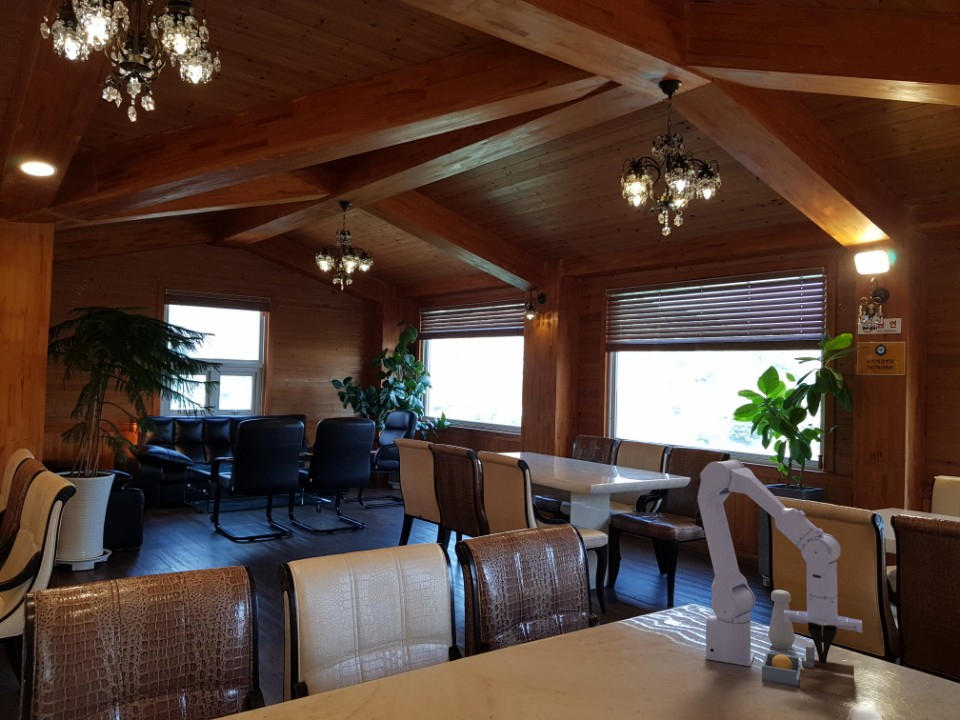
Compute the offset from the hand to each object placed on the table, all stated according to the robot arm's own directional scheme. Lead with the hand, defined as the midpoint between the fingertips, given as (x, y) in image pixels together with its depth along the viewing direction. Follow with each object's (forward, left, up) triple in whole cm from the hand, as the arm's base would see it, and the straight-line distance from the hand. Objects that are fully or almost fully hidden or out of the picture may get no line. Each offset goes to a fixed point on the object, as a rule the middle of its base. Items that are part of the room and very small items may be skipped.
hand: (822, 661), depth 148 cm
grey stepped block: (-3, 0, -2) cm, 3 cm away
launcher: (+1, 0, -4) cm, 4 cm away
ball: (-8, 0, -2) cm, 8 cm away
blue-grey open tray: (-8, 0, -4) cm, 9 cm away
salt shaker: (-9, +19, -5) cm, 22 cm away
